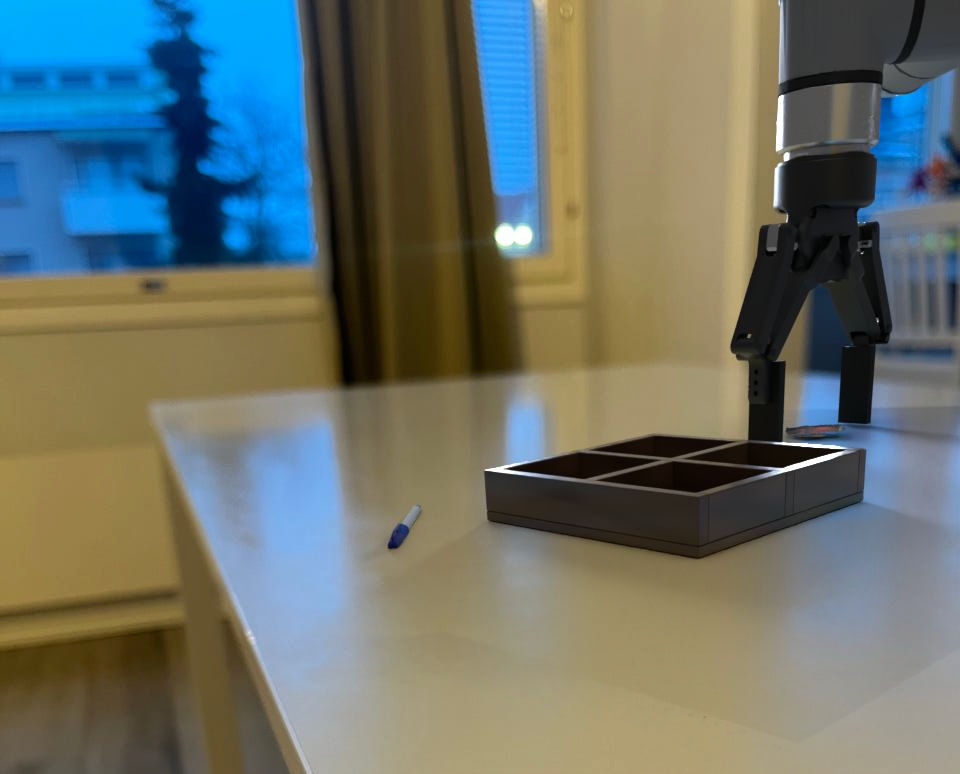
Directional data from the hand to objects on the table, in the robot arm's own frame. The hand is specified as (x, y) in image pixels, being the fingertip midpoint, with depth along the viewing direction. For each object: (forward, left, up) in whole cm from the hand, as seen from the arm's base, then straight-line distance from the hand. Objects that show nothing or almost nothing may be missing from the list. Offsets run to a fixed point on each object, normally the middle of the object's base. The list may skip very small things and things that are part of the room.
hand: (811, 434), depth 83 cm
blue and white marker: (+41, -3, -1) cm, 41 cm away
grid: (+29, +8, 0) cm, 30 cm away
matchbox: (0, 0, 0) cm, 0 cm away
